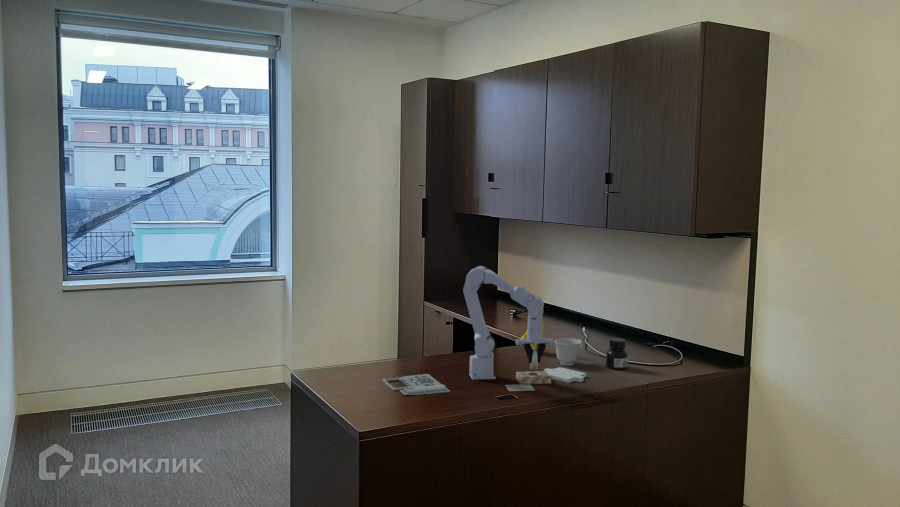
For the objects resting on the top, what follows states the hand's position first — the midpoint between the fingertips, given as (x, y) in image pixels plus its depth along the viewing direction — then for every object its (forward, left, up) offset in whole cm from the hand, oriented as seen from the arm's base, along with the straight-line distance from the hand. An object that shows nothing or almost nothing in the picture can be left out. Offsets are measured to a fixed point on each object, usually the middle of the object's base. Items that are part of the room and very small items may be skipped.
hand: (533, 362), depth 276 cm
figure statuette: (+13, +47, -8) cm, 49 cm away
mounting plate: (+14, +6, -8) cm, 17 cm away
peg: (0, 0, -2) cm, 3 cm away
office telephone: (-47, -2, -8) cm, 48 cm away
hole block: (0, 0, -8) cm, 8 cm away
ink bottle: (+41, +18, -8) cm, 45 cm away
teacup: (+23, +26, -8) cm, 36 cm away
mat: (-8, -8, -8) cm, 14 cm away
